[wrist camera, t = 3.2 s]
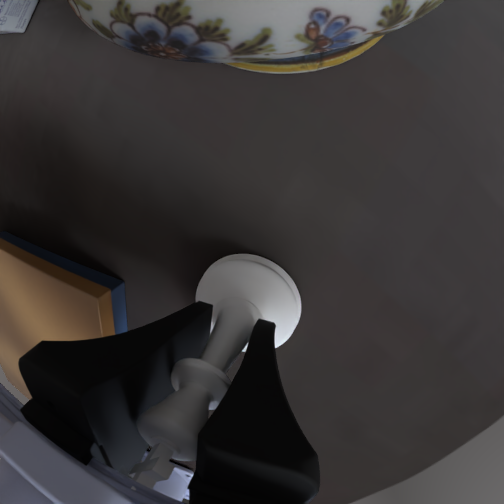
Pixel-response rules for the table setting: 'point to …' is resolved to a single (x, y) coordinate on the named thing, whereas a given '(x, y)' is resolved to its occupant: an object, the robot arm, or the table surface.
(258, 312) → the chess piece
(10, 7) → the medicine box
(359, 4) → the apothecary jar
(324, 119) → the table surface
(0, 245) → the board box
